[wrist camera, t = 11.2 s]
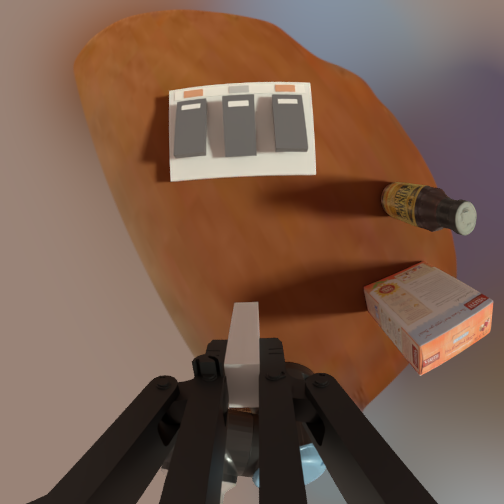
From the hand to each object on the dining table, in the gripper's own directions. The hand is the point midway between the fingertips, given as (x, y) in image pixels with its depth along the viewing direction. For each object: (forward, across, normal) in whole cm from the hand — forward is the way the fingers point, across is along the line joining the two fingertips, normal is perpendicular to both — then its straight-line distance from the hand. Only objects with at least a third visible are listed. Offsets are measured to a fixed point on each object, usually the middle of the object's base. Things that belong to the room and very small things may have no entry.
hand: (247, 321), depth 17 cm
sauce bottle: (+29, -25, -6) cm, 38 cm away
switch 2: (+24, -6, -18) cm, 30 cm away
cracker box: (+29, -27, +10) cm, 41 cm away
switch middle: (+24, +1, -18) cm, 30 cm away
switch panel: (+28, +1, -18) cm, 33 cm away
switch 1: (+24, +8, -18) cm, 31 cm away
